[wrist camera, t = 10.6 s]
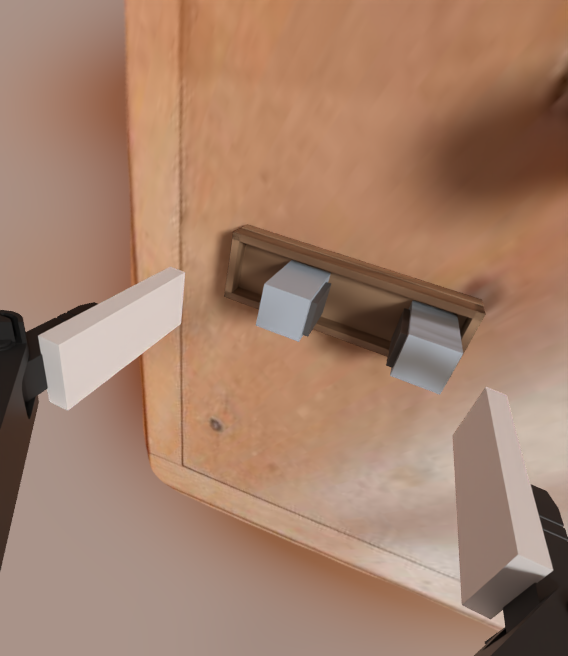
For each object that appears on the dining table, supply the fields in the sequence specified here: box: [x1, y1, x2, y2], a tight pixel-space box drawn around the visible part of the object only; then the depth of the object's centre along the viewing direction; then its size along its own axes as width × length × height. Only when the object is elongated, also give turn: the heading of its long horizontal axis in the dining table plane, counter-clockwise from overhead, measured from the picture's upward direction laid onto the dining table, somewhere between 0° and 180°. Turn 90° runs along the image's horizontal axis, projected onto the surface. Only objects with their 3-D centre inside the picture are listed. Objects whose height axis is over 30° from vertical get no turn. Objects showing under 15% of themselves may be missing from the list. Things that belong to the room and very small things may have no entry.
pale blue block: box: [256, 260, 331, 342], centre depth 38 cm, size 4×5×8 cm
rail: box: [224, 224, 486, 394], centre depth 37 cm, size 8×26×10 cm, turn 77°
